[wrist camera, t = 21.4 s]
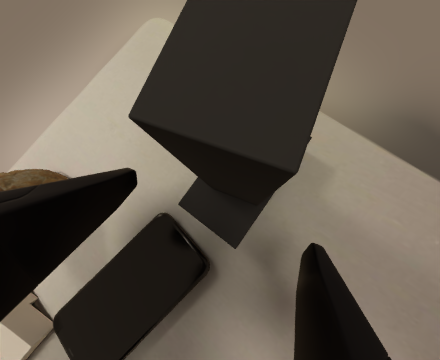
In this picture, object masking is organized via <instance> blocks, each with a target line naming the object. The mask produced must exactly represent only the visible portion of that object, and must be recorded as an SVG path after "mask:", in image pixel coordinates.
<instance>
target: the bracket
mask: <svg viewBox="0 0 440 360" xmlns="http://www.w3.org/2000/svg"><path fill="white" fill-rule="evenodd" d="M37 298H38V297H36V296H35V295H34V294H32V293H30V294H29V295H28V296H27V297H26V298H25V299H24V300H23V301H22V302H21V303H20V304H18V305H17V306H16V307H15V308H14V309H13V310H12V311H11V312H10V313H9V314H8V315H7V316H6V317H5V318H4V319H3V320H2V321H1V322H0V360H26V359H27V358H28V357H29V355H30V354H31V353H32V352H33V351H34V350H35V348H36V347H37V346H38V345H39V344H40V343H41V342H42V340H43V339H44V338H45V337H46V336H47V335H48V333H49V332H50V331H51V330H52V329H53V322H52V321H51V320H50V319H48V318H47V317H46V316H44V315H43V314H42V313H41V312H39V311H38V310H37V309H36V308H34V307H33V306H32V304H33V303H34V302H35V301H36V300H37Z"/></svg>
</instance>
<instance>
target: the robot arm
mask: <svg viewBox="0 0 440 360" xmlns="http://www.w3.org/2000/svg"><path fill="white" fill-rule="evenodd" d="M136 186H137V175H136V171H135V170H133V169H130V168H123V169H118V170H113V171H108V172H102V173H97V174H92V175H87V176H81V177H76V178H71V179H66V180H60V181H55V182H50V183H45V184H40V185H34V186H29V187H23V188H18V189H12V190H6V191H0V322H1V321H2V320H3V319H4V318H5V317H6V316H7V315H8V314H9V313H10V312H11V311H12V310H13V309H14V308H15V307H16V306H17V305H18V304H20V303H21V302H22V301H23V300H24V299H25V298H26V297H27V296H28V295H29V294H30V293H31V292H32V291H33V290H34V289H35V288H36V287H37V286H38V284H40V283H41V282H42V281H43V280H44V279H45V278H46V277H47V276H48V275H49V274H50V273H51V272H52V271H53V270H55V269H56V268H57V267H58V266H59V265H60V264H61V263H62V262H63V261H64V260H65V259H66V258H67V257H68V256H69V255H70V254H71V253H72V252H73V251H74V250H75V249H76V248H77V247H78V246H79V245H80V244H81V243H82V242H83V241H85V240H86V239H87V238H88V237H89V236H90V235H91V234H92V233H93V232H94V231H95V230H96V229H97V228H98V227H99V226H100V225H101V224H102V223H103V222H104V221H105V220H106V219H107V218H108V217H109V216H110V215H111V214H112V213H114V212H115V211H116V210H117V208H118V207H119V206H120V205H121V204H122V203H123V202H124V200H125V199H126V198H127V197H128V196H129V195H130V193H131V192H132V191H133V190H134V189H135V188H136ZM294 360H391V358H390V357H388V353H387V352H386V350H385V348H384V347H383V345H382V343H381V342H380V340H379V338H378V337H377V335H376V333H375V332H374V330H373V328H372V327H371V325H370V324H369V322H368V320H367V319H366V317H365V315H364V314H363V312H362V310H361V309H360V307H359V305H358V304H357V302H356V300H355V299H354V297H353V296H352V294H351V292H350V291H349V289H348V287H347V286H346V284H345V282H344V281H343V279H342V277H341V276H340V274H339V273H338V271H337V269H336V268H335V266H334V264H333V263H332V261H331V259H330V258H329V256H328V254H327V253H326V251H325V249H324V248H323V247H322V246H320V245H318V244H315V243H311V244H310V245H309V246H308V247H307V249H306V250H305V251H304V252H303V254H302V257H301V263H300V270H299V276H298V283H297V290H296V311H295V343H294Z"/></svg>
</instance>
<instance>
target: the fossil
mask: <svg viewBox="0 0 440 360" xmlns="http://www.w3.org/2000/svg"><path fill="white" fill-rule="evenodd" d="M66 179H68V178H67V177H65V176H63V175H61V174H58V173H56V172H52V171H50V170H43V169H26V170H15V171H11V172H9V173H4V172H3V173H0V191H6V190H12V189H18V188H23V187H29V186H34V185H40V184H45V183H50V182H55V181H60V180H66Z"/></svg>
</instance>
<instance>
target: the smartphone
mask: <svg viewBox="0 0 440 360" xmlns="http://www.w3.org/2000/svg"><path fill="white" fill-rule="evenodd" d="M209 269H210V263H209V260H208V258H207V257H206V256H205V255H204V254H203V252H202V251H201V250H200V249H199V248H198V246H197V245H196V244H195V243H194V242H193V241H192V239H191V238H190V237H189V236H188V235H187V234H186V232H185V231H184V230H183V229H182V228H181V227H180V226H179V224H178V223H177V222H176V221H175V220H174V219H173V217H172V216H171V215H169V214H168V213H160V214H158V215H157V216H156V217H155V218H154V219H153V220H151V221H150V222H149V223H148V224H147V225H146V226H145V227H144V228H143V229H142V230H141V231H140V232H139V233H138V234H137V235H136V236H135V237H134V238H133V239H132V240H131V241H130V242H129V243H128V244H127V245H126V246H125V247H124V248H123V249H122V250H121V251H120V252H119V253H118V254H117V255H116V256H115V257H114V258H113V259H112V260H111V261H110V262H109V263H107V264H106V265H105V266H104V267H103V268H102V269H101V270H100V271H99V272H98V273H97V274H96V275H95V276H94V277H93V278H92V279H91V280H90V281H89V282H88V283H87V284H86V285H85V286H84V287H83V288H82V289H81V290H79V291H78V293H77V294H76V295H75V296H74V297H73V298H72V299H71V300H70V301H69V302H68V303H67V304H66V305H65V306H63V307H62V308H61V309H60V310H59V311H58V313H57V314H56V315H55V317H54V319H53V328H54V331H55V333H56V334H57V336H58V338H59V340H60V342H61V344H62V346H63V347H64V349H65V351H66V353H67V355H68V357H69V359H70V360H124V359H125V358H126V357H127V356H128V355H129V354H130V353H131V352H132V351H133V350H134V349H135V348H136V347H137V345H138V344H139V343H140V342H141V341H142V340H143V339H144V338H145V337H146V336H147V335H148V334H149V333H150V332H151V331H152V330H153V329H154V328H155V327H156V326H157V325H158V324H159V323H160V322H161V321H162V320H163V319H164V318H165V317H166V316H167V315H168V314H169V313H170V312H171V311H172V310H173V309H174V308H175V306H176V305H177V304H178V303H179V302H180V301H181V300H182V299H183V298H184V297H185V296H186V295H187V294H188V293H189V292H190V291H191V290H192V289H193V288H194V287H195V286H196V285H197V284H198V283H199V282H200V281H201V280H202V279H203V278H204V277H205V276H206V275H207V273H208V271H209Z"/></svg>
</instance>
